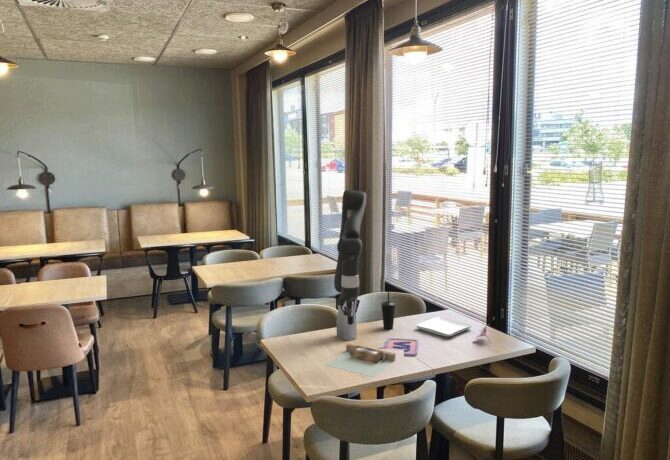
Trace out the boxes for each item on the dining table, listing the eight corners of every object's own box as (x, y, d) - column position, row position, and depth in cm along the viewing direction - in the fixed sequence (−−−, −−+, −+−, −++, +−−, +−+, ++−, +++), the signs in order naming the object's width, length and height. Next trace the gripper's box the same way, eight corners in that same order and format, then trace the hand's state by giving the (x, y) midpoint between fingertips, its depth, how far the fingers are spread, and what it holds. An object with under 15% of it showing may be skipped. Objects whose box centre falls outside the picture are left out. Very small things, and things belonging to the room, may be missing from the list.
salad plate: (439, 321, 280) (439, 315, 280) (472, 330, 265) (473, 324, 264) (414, 330, 266) (414, 324, 266) (449, 341, 251) (449, 334, 250)
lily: (488, 338, 256) (478, 321, 256) (504, 336, 246) (494, 318, 246) (472, 350, 250) (463, 333, 250) (489, 348, 240) (479, 330, 240)
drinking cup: (391, 331, 264) (391, 294, 261) (378, 329, 268) (378, 292, 265) (398, 327, 270) (398, 290, 267) (385, 325, 274) (385, 288, 271)
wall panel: (325, 367, 222) (324, 358, 221) (348, 351, 238) (348, 343, 238) (374, 379, 209) (374, 370, 208) (395, 362, 226) (395, 353, 225)
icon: (377, 337, 254) (418, 339, 250) (377, 340, 254) (418, 342, 250) (372, 351, 235) (416, 354, 231) (372, 354, 236) (416, 357, 232)
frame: (350, 357, 229) (350, 349, 228) (357, 353, 234) (356, 345, 233) (376, 363, 222) (376, 354, 221) (382, 359, 227) (382, 350, 226)
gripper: (350, 289, 210) (350, 330, 212) (365, 282, 221) (365, 321, 223) (334, 287, 214) (335, 327, 216) (350, 280, 225) (350, 318, 227)
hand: (350, 323), depth 220 cm, fingers closed
